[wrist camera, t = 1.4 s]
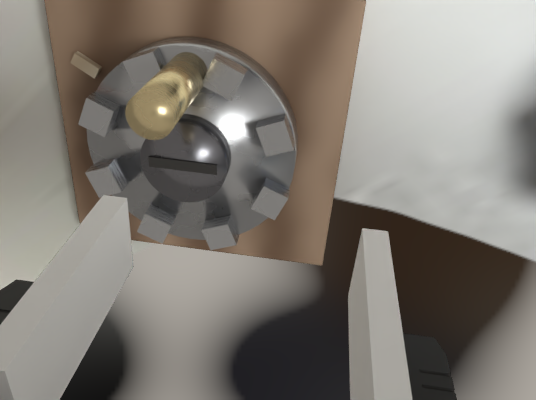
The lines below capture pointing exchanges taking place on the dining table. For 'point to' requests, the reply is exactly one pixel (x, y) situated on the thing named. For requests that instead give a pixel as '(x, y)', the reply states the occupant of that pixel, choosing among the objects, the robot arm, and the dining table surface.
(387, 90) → the dining table surface
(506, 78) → the dining table surface
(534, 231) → the dining table surface
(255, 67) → the crank wheel
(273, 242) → the base plate
